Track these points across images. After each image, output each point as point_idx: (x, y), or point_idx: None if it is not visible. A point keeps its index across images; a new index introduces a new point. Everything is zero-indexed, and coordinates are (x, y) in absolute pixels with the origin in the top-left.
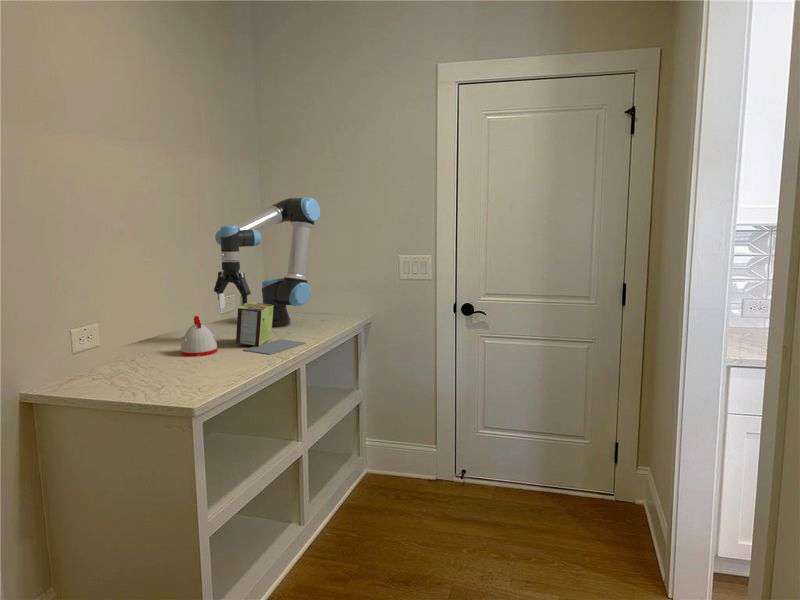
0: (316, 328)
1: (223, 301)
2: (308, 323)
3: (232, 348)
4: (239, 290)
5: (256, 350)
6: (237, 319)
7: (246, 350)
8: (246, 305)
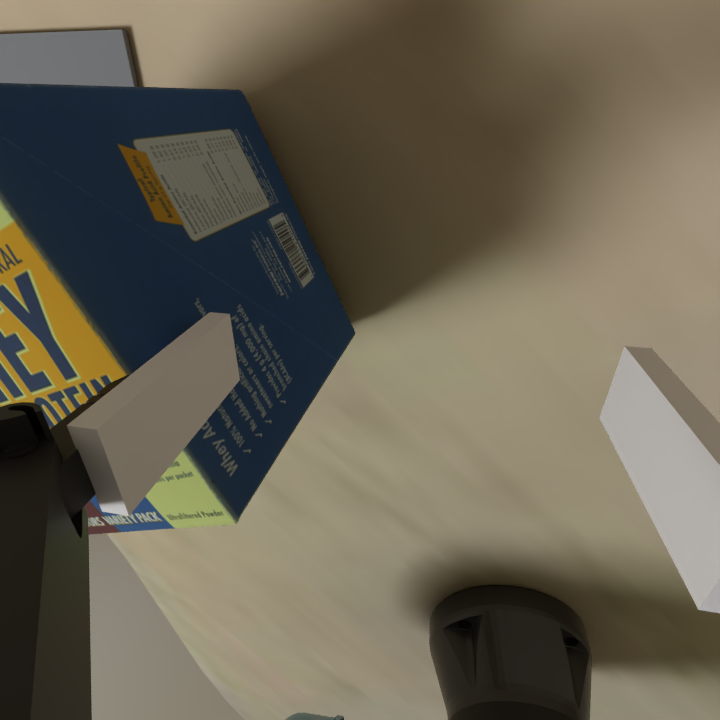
0: (256, 589)
1: (640, 463)
2: (360, 649)
3: (248, 48)
4: (20, 533)
5: (36, 67)
6: (81, 85)
7: (90, 31)
8: (56, 325)
